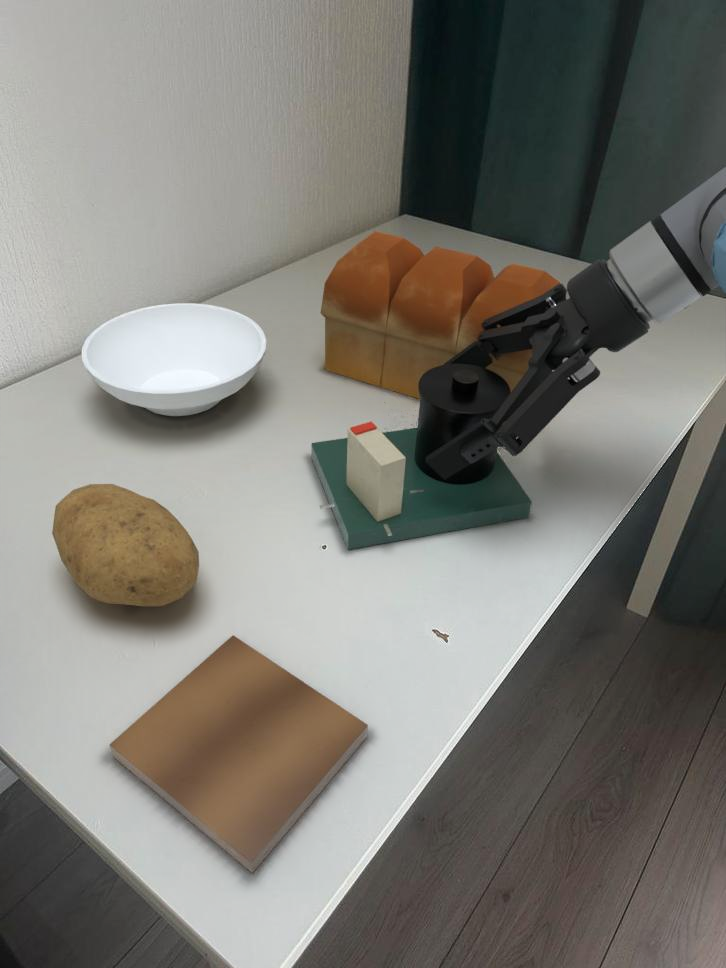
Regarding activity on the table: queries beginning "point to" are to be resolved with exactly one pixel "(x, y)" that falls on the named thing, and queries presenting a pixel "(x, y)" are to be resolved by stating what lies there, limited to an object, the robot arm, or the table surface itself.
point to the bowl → (175, 356)
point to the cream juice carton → (375, 471)
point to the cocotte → (456, 413)
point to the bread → (417, 311)
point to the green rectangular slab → (416, 497)
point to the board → (240, 749)
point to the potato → (124, 546)
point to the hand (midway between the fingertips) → (434, 425)
